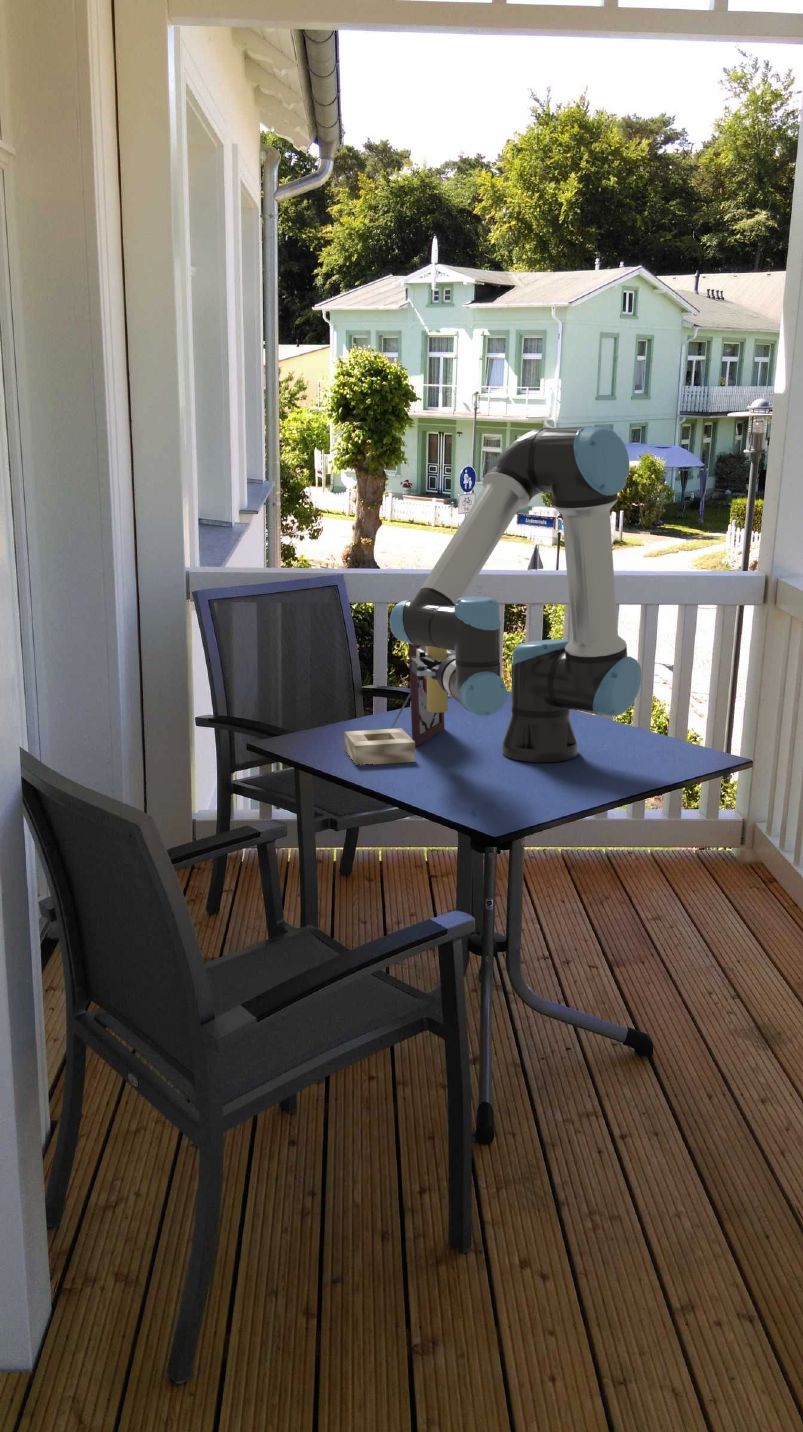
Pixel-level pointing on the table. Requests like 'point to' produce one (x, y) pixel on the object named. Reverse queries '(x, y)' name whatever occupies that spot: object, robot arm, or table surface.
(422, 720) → the picture frame
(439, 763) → the table surface
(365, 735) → the socket block
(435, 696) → the peg
